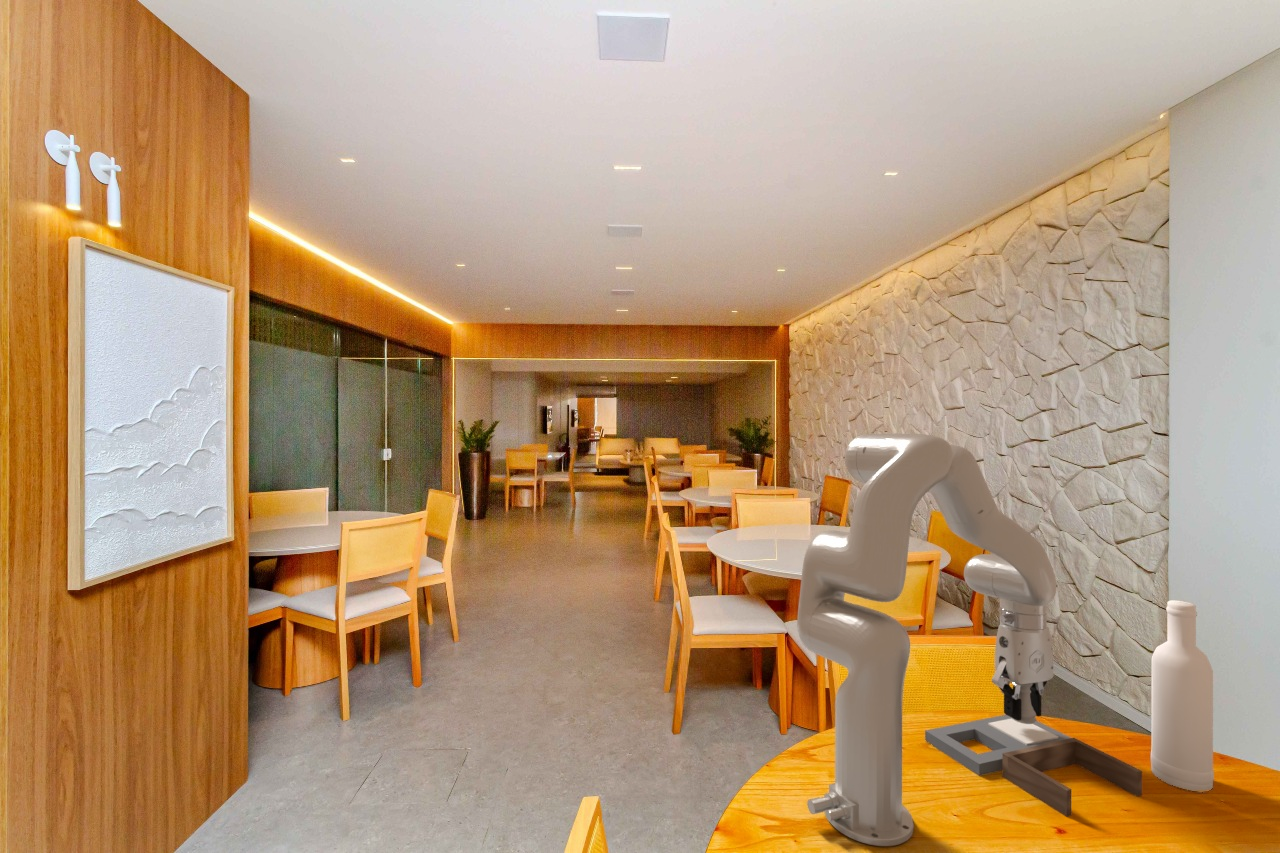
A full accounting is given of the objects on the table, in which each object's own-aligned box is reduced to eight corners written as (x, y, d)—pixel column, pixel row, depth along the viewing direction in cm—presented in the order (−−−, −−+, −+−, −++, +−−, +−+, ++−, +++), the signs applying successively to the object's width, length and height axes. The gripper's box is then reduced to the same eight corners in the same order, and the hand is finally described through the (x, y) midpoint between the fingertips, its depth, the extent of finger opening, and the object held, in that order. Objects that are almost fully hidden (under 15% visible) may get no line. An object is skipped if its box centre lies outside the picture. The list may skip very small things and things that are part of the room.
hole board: (979, 775, 102) (979, 762, 102) (925, 740, 113) (925, 728, 113) (1079, 752, 110) (1079, 739, 110) (1018, 721, 121) (1019, 710, 121)
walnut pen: (1066, 816, 91) (1066, 790, 91) (1002, 776, 102) (1002, 753, 102) (1141, 795, 97) (1142, 770, 97) (1073, 759, 107) (1073, 737, 107)
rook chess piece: (1041, 726, 111) (1041, 683, 111) (1014, 723, 112) (1014, 680, 112) (1030, 714, 115) (1030, 673, 115) (1004, 712, 116) (1004, 671, 116)
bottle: (1204, 774, 103) (1204, 600, 103) (1221, 798, 96) (1221, 612, 96) (1144, 761, 107) (1144, 594, 107) (1157, 784, 100) (1157, 605, 100)
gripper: (1007, 629, 107) (1007, 731, 107) (1074, 620, 113) (1074, 717, 112) (971, 617, 114) (971, 712, 114) (1036, 609, 120) (1036, 700, 120)
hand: (1022, 714), depth 113 cm, fingers closed on rook chess piece, 4 cm apart
